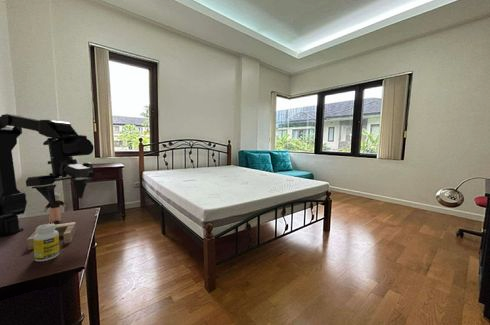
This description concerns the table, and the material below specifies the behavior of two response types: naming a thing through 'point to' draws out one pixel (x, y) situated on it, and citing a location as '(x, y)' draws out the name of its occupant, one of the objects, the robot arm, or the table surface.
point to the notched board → (63, 230)
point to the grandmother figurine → (55, 209)
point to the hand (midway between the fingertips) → (67, 201)
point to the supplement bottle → (46, 243)
